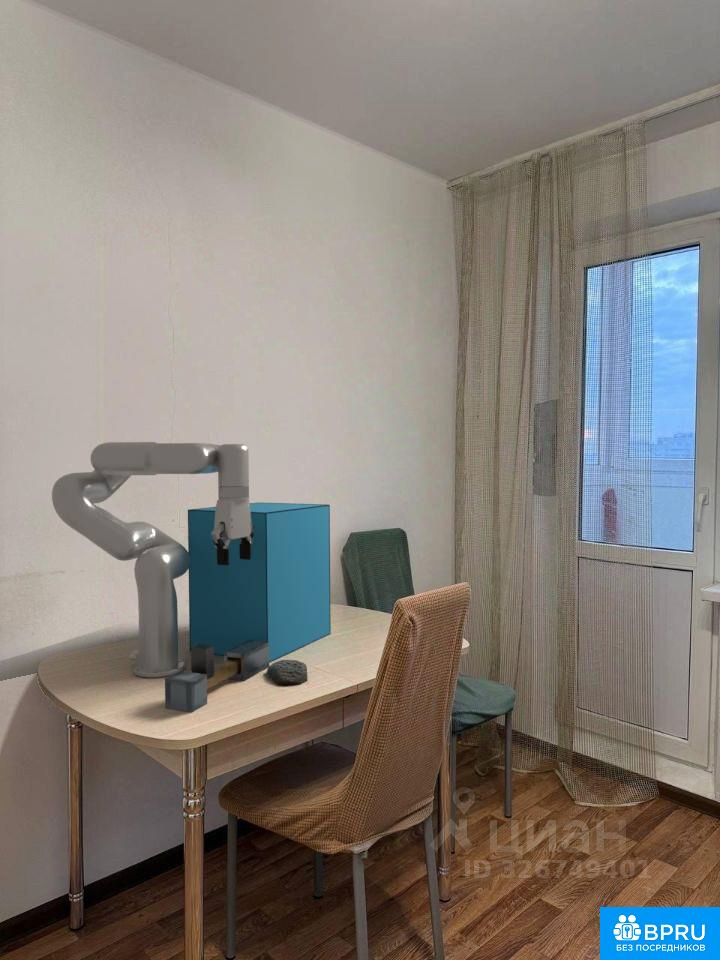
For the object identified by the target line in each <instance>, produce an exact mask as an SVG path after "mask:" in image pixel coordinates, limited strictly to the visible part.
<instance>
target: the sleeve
mask: <svg viewBox="0 0 720 960" xmlns="http://www.w3.org/2000/svg"><path fill="white" fill-rule="evenodd" d="M223 657H224V658H223V659H224V661H226V660H229V659H231V658H233V657H235V658H241V671H240V672H238V673H236V674H234V675H232V676H230V677H228V678H226V679H227V680H228V679H229V680H234V681H243V682H245V681H247V680H248V679H250V678H252V677H254V676H256V675H257V674H259V673H261V672H263V671H264V670H266V669H268V668H269V666H270V663H269V642H265V641H256V640H249V641H247V642H245V643H243V644H241V645H238V646H236V647H234V648H232V649H230V650H228V651H226V652H224V656H223ZM224 661H223V662H224Z"/></svg>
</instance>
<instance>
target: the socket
mask: <svg viewBox="0 0 720 960" xmlns="http://www.w3.org/2000/svg"><path fill="white" fill-rule="evenodd" d="M164 699H165V700H164V701H165V702H164V703H165V705H164V708H165V709H171V710H175V711H182V712H186V713H187V712H188V713H193V712H195V711H197V710H198V709H201V708H202V707H204V706H206V705H207V704H208V689H207V674H200V673H193V672H191V671H185V670H182V671H179V672H177V673H175V674H173V675H169V676H165V678H164Z"/></svg>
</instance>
